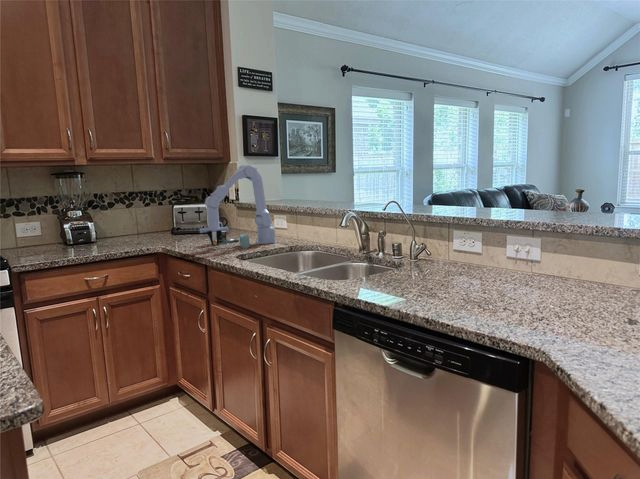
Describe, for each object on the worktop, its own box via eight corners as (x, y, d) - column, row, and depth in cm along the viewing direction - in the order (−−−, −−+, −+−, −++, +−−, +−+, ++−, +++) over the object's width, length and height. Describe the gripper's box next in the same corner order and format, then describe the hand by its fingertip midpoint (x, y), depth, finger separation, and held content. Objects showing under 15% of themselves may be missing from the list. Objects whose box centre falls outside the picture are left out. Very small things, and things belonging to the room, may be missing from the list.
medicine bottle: (217, 245, 254) (215, 223, 252) (208, 244, 258) (207, 223, 256) (227, 243, 259) (225, 222, 257) (218, 242, 264) (217, 221, 261)
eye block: (247, 244, 254) (246, 234, 253) (249, 247, 244) (249, 237, 243) (240, 244, 253) (239, 234, 252) (242, 248, 243) (241, 237, 242)
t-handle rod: (238, 241, 252) (237, 236, 251) (239, 244, 243) (239, 239, 243) (212, 243, 248) (212, 238, 248) (213, 246, 240) (213, 241, 239)
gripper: (227, 217, 245) (228, 243, 247) (198, 219, 241) (200, 245, 243) (228, 219, 238) (229, 245, 240) (199, 221, 234) (200, 247, 237)
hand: (215, 245), depth 241 cm, fingers closed on t-handle rod, 2 cm apart
